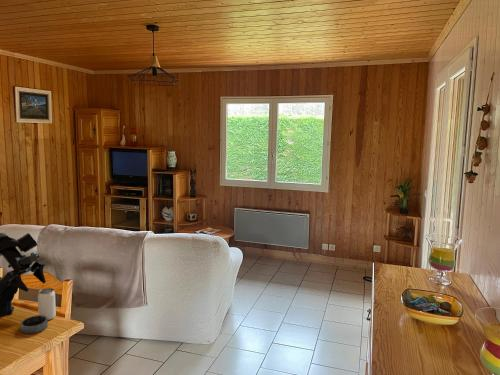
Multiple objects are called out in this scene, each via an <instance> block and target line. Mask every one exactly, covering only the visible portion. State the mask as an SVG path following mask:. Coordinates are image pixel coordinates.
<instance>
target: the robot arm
mask: <svg viewBox="0 0 500 375" xmlns="http://www.w3.org/2000/svg"><path fill="white" fill-rule="evenodd" d="M37 246H38V243H37V241H36V239H34V237H33V236H32V235H31V234H30V232H29V233H28V232H27V233H26V234H24V235H23V236H21V237H20V238H18V239H16V238H13V237H10V236H9V235H8V234H6V233H4V232H0V257H3V258H4V259H5V260H6V262H7V263H8V265H7V267H8V268H10V269H12V270H10V271H8V272H6V273H5V274H4V275H3V277H1V276H0V317H1V316H5V315H6V316H8V315H12V314H13V312H14V309H15V306H13V301H14V298H15V295H16V294H17V292H19V290H21V291H24V292H28V291H29V288H28V286H27V285H26V284H25V282H24V280H22V275H25V274H26V273H29V272H31V273H32V275H33V277H35V278H36V279H37V280H39V282H40V283H42V284H45V283H46V277H45V274H44V268H45V266H46V265H47V262H46V261H45V260H44V259H42V258H40V254H39V252H37V251H34V252H31V253H30V255H28V256H26V255H25V254H23V255H22V254H21V253H27V252H29V251H31V250H32V249H34V248H35V247H37ZM39 258H40V259H39ZM38 259H39V260H38Z"/></svg>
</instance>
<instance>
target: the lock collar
mask: <svg viewBox="0 0 500 375" xmlns="http://www.w3.org/2000/svg"><path fill="white" fill-rule="evenodd" d="M47 328H48V320H47V317H45V316H40V315H32V316H29V317H26V318H24V319H22V321H20V332H21V333H22V334H25V335H34V334H38V333H42V332H43V331H45V330H47Z"/></svg>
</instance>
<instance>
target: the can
mask: <svg viewBox="0 0 500 375" xmlns="http://www.w3.org/2000/svg"><path fill="white" fill-rule="evenodd" d="M37 310H38V311H37V312H38V315H40V316H45V317H47V321H50V320H53V319H55V317H56V314H57V313H56V293H55V290H54V288H51V287H48V288H42V289H40V290H39V291H38V294H37ZM38 315H37V316H38Z"/></svg>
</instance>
